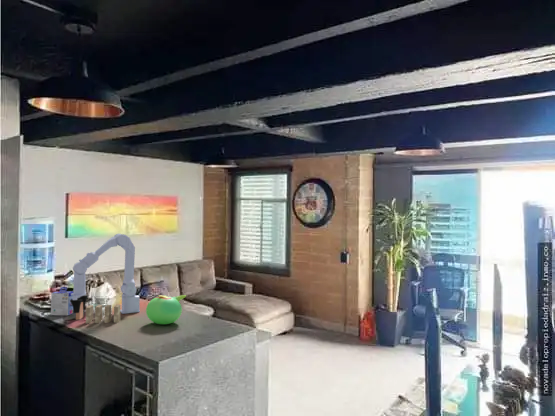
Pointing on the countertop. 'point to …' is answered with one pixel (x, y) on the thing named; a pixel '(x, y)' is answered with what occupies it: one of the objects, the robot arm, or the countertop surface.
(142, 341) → the countertop surface
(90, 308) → the domino
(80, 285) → the robot arm
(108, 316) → the domino
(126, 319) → the countertop surface
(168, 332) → the countertop surface
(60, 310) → the ink cartridge box
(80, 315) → the domino
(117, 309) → the domino
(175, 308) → the green teapot
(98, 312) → the domino
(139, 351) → the countertop surface
